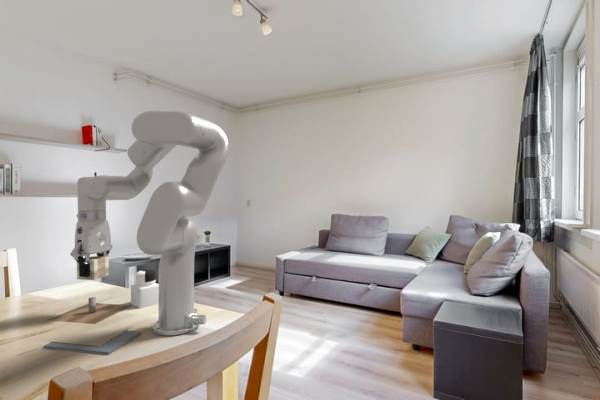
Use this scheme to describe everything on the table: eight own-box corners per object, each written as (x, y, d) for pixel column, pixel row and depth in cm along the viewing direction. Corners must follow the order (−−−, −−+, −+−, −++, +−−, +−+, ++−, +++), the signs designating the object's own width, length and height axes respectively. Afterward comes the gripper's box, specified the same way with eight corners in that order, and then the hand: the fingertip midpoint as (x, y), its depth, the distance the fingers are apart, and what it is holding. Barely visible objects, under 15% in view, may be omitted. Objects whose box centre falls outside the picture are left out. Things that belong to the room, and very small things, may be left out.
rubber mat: (141, 333, 90) (140, 331, 90) (108, 354, 79) (108, 352, 79) (83, 328, 93) (83, 326, 93) (43, 348, 82) (43, 345, 82)
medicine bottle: (151, 300, 118) (151, 267, 118) (161, 305, 114) (161, 270, 114) (130, 306, 113) (130, 270, 113) (140, 310, 108) (140, 274, 108)
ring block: (108, 275, 106) (108, 256, 106) (94, 279, 101) (93, 260, 100) (92, 274, 107) (92, 256, 107) (77, 279, 102) (76, 259, 101)
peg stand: (132, 307, 111) (132, 292, 111) (94, 326, 95) (94, 308, 95) (90, 304, 114) (90, 289, 113) (47, 322, 98) (47, 304, 98)
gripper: (80, 218, 95) (81, 281, 95) (122, 215, 112) (123, 268, 112) (57, 218, 96) (58, 280, 96) (102, 215, 113) (103, 267, 113)
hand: (93, 273), depth 104 cm, fingers closed on ring block, 6 cm apart
